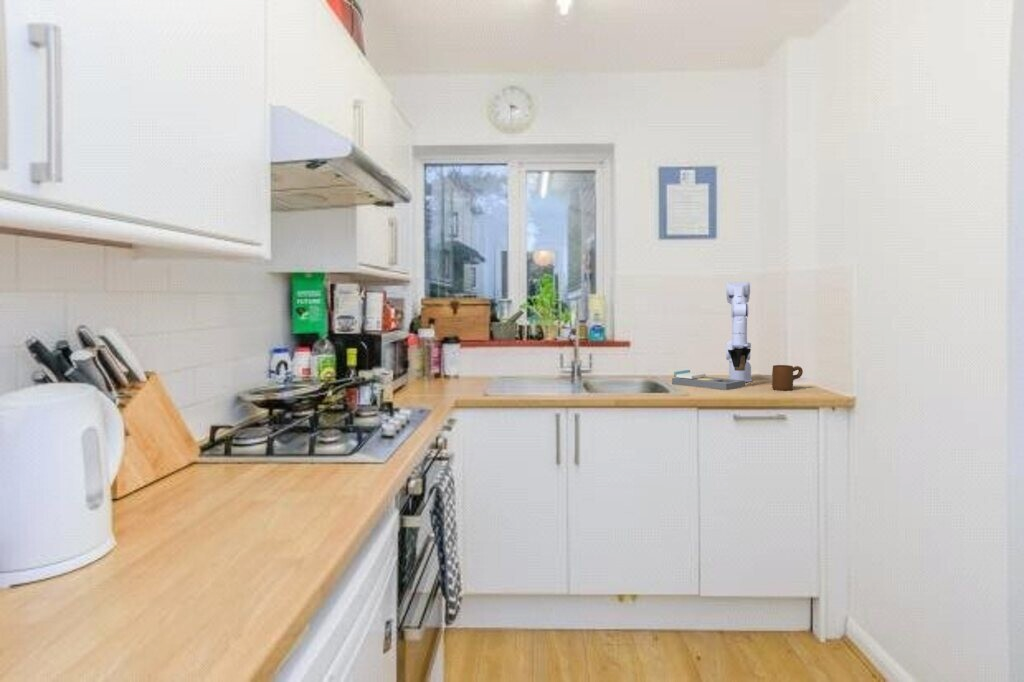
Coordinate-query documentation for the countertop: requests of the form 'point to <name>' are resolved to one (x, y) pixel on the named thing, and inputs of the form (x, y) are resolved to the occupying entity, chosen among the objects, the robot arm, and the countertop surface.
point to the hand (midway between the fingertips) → (739, 366)
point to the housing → (710, 382)
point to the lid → (688, 374)
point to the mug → (784, 377)
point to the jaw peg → (741, 364)
